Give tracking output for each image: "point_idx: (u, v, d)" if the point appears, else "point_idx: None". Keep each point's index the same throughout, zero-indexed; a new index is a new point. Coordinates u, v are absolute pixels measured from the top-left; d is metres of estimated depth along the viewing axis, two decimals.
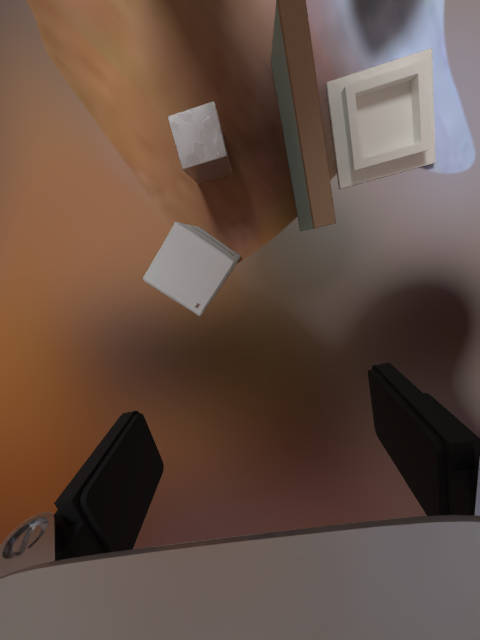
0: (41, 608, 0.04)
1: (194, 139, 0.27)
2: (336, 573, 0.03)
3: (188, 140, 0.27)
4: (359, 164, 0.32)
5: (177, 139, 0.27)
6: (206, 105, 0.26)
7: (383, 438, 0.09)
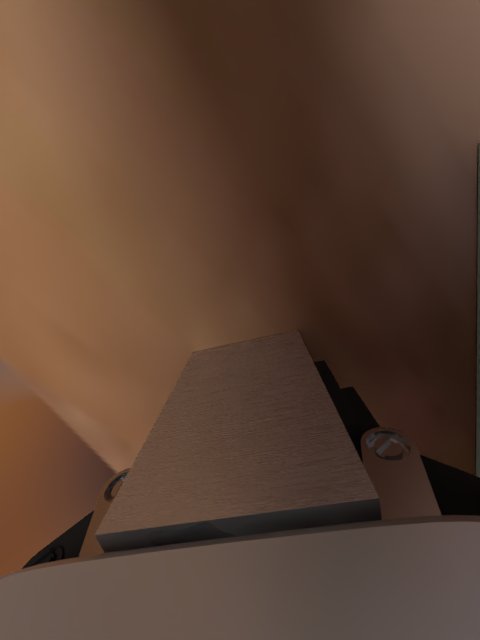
0: (41, 608, 0.04)
1: None
2: (336, 572, 0.03)
3: None
4: None
5: None
6: (326, 511, 0.04)
7: None
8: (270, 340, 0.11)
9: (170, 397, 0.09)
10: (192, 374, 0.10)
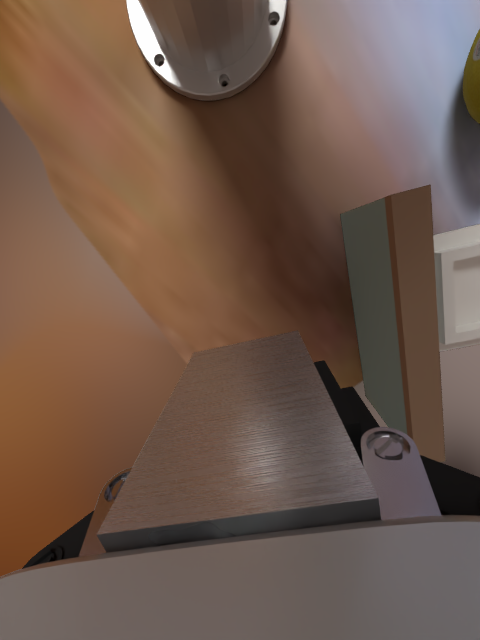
0: (41, 608, 0.04)
1: None
2: (336, 573, 0.03)
3: None
4: (452, 338, 0.25)
5: None
6: (326, 511, 0.04)
7: None
8: (270, 340, 0.11)
9: (171, 397, 0.09)
10: (193, 374, 0.10)
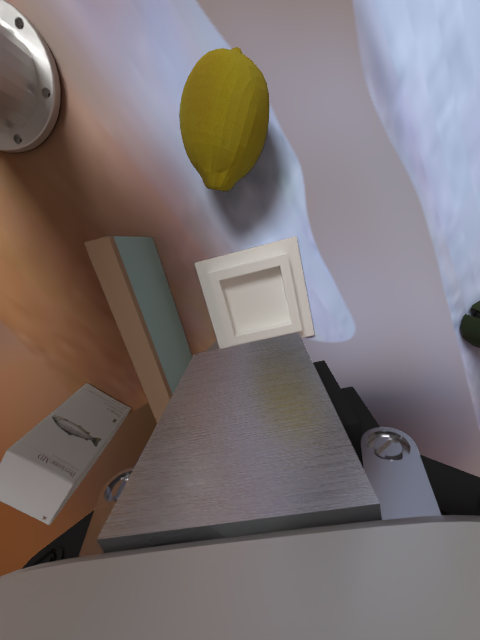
0: (41, 608, 0.04)
1: None
2: (337, 573, 0.03)
3: None
4: (232, 341, 0.31)
5: None
6: (327, 516, 0.04)
7: None
8: (270, 342, 0.11)
9: (171, 400, 0.09)
10: (193, 376, 0.10)
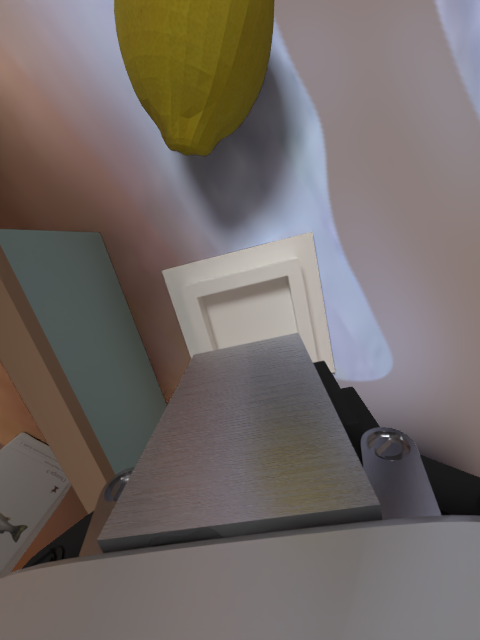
0: (41, 608, 0.04)
1: None
2: (336, 573, 0.03)
3: None
4: None
5: None
6: (327, 517, 0.04)
7: None
8: (270, 342, 0.11)
9: (171, 400, 0.09)
10: (193, 376, 0.10)
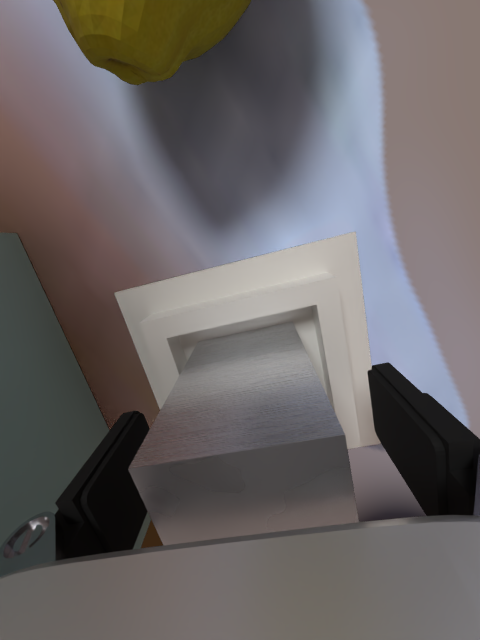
0: (41, 608, 0.04)
1: None
2: (336, 573, 0.03)
3: None
4: None
5: (170, 533, 0.07)
6: (305, 446, 0.06)
7: (382, 438, 0.09)
8: (267, 329, 0.13)
9: (180, 376, 0.10)
10: (199, 358, 0.11)
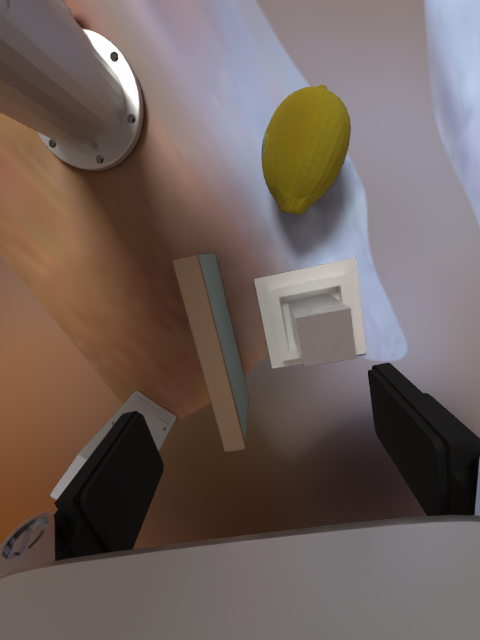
0: (41, 608, 0.04)
1: (321, 341, 0.25)
2: (336, 573, 0.03)
3: (314, 341, 0.25)
4: (287, 356, 0.32)
5: (302, 339, 0.25)
6: (341, 311, 0.24)
7: (383, 438, 0.09)
8: (318, 296, 0.31)
9: (290, 308, 0.28)
10: (293, 304, 0.30)
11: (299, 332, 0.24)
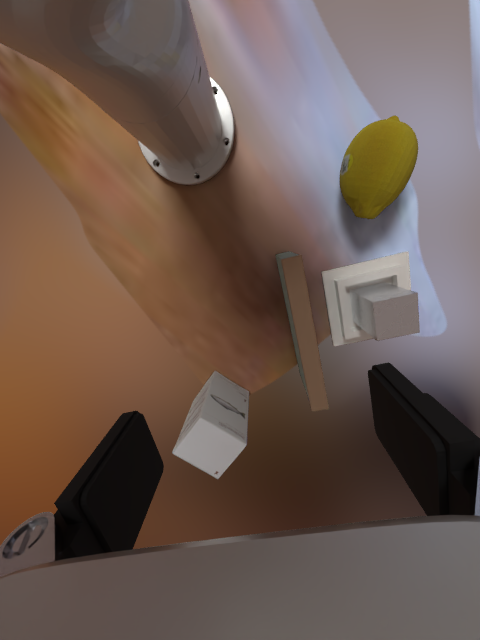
0: (41, 608, 0.04)
1: (392, 320, 0.31)
2: (337, 573, 0.03)
3: (386, 320, 0.31)
4: (349, 335, 0.39)
5: (377, 319, 0.31)
6: (409, 295, 0.30)
7: (383, 438, 0.09)
8: (376, 284, 0.37)
9: (358, 295, 0.35)
10: (358, 292, 0.36)
11: (375, 313, 0.31)
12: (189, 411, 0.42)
